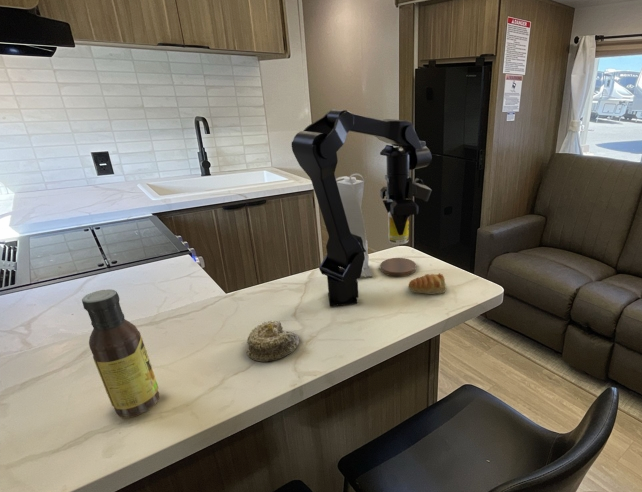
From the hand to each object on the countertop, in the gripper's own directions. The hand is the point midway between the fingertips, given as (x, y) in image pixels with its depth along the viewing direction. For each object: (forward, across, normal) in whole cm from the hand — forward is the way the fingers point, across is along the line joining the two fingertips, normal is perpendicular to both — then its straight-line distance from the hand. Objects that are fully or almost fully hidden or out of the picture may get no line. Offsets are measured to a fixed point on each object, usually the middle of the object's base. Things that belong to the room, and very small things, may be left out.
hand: (398, 231), depth 107 cm
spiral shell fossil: (+12, -28, +31) cm, 44 cm away
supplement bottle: (+3, 0, 0) cm, 3 cm away
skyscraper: (+12, +1, +12) cm, 17 cm away
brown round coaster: (+12, +2, 0) cm, 12 cm away
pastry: (+12, -12, -6) cm, 18 cm away
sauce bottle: (+12, -40, +51) cm, 66 cm away
